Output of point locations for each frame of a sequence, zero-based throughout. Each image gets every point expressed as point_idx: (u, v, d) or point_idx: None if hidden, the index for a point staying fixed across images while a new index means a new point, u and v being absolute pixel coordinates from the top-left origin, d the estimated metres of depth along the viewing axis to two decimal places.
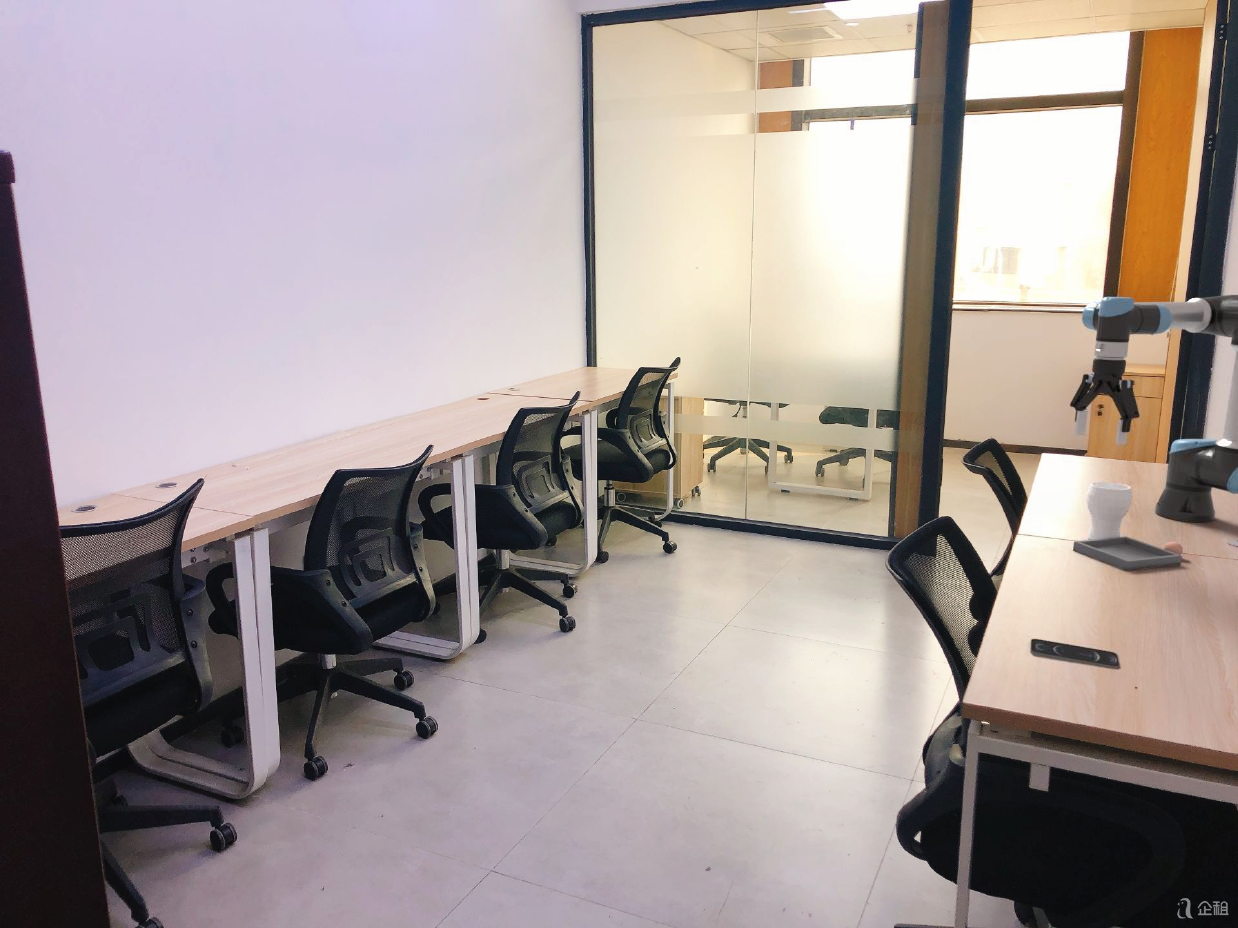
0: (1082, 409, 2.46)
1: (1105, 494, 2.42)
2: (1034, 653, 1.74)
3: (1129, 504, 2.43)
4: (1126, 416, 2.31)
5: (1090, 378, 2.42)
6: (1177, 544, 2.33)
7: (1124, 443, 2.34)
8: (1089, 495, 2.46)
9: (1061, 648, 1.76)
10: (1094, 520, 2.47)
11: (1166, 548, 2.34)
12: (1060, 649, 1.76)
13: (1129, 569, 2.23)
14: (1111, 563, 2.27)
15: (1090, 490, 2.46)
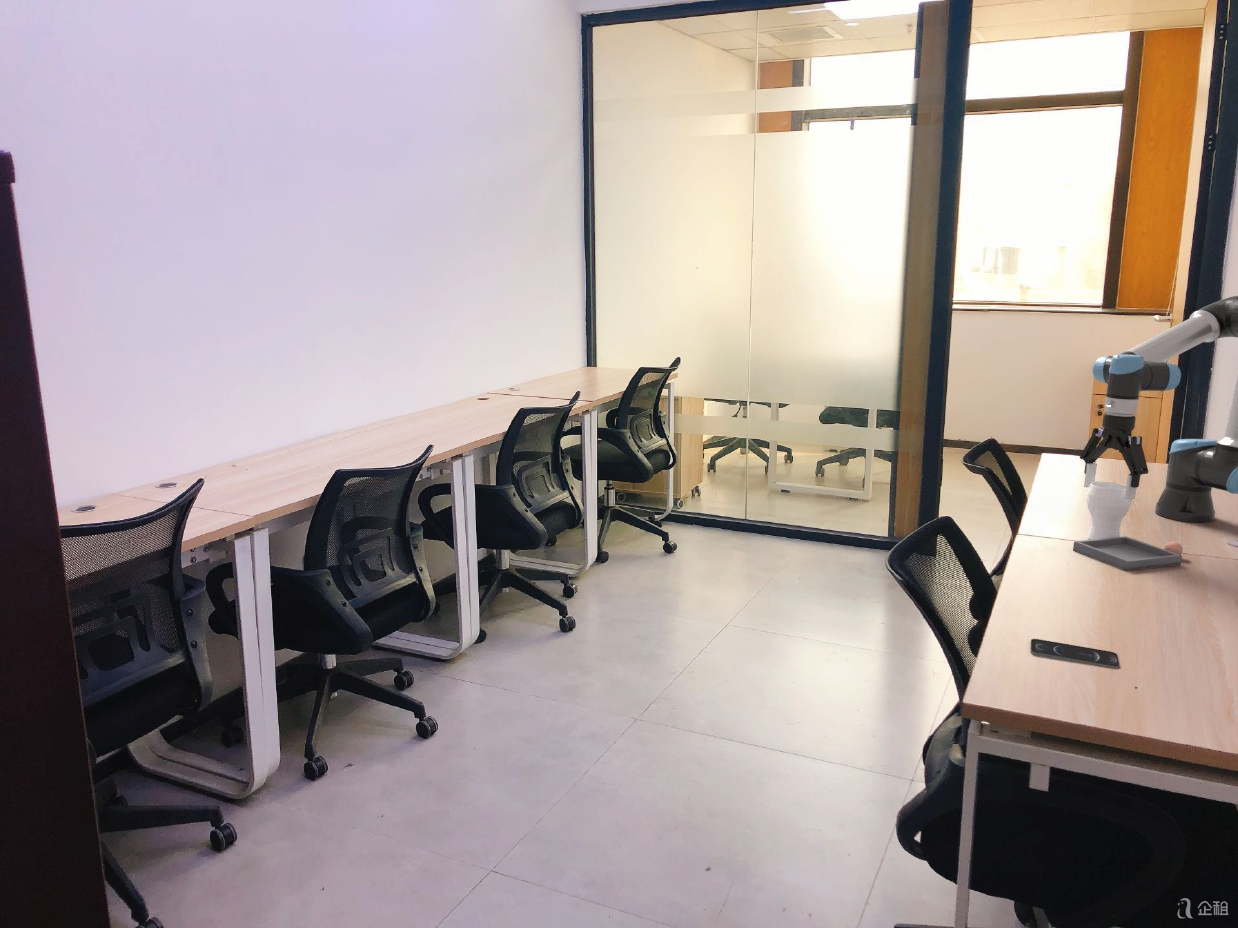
0: (1091, 462, 2.51)
1: (1105, 494, 2.42)
2: (1034, 653, 1.74)
3: (1129, 504, 2.43)
4: (1135, 472, 2.36)
5: (1100, 432, 2.47)
6: (1177, 544, 2.33)
7: (1133, 498, 2.39)
8: (1089, 495, 2.46)
9: (1061, 648, 1.76)
10: (1094, 520, 2.47)
11: (1166, 548, 2.34)
12: (1060, 649, 1.76)
13: (1129, 569, 2.23)
14: (1111, 563, 2.27)
15: (1090, 490, 2.46)
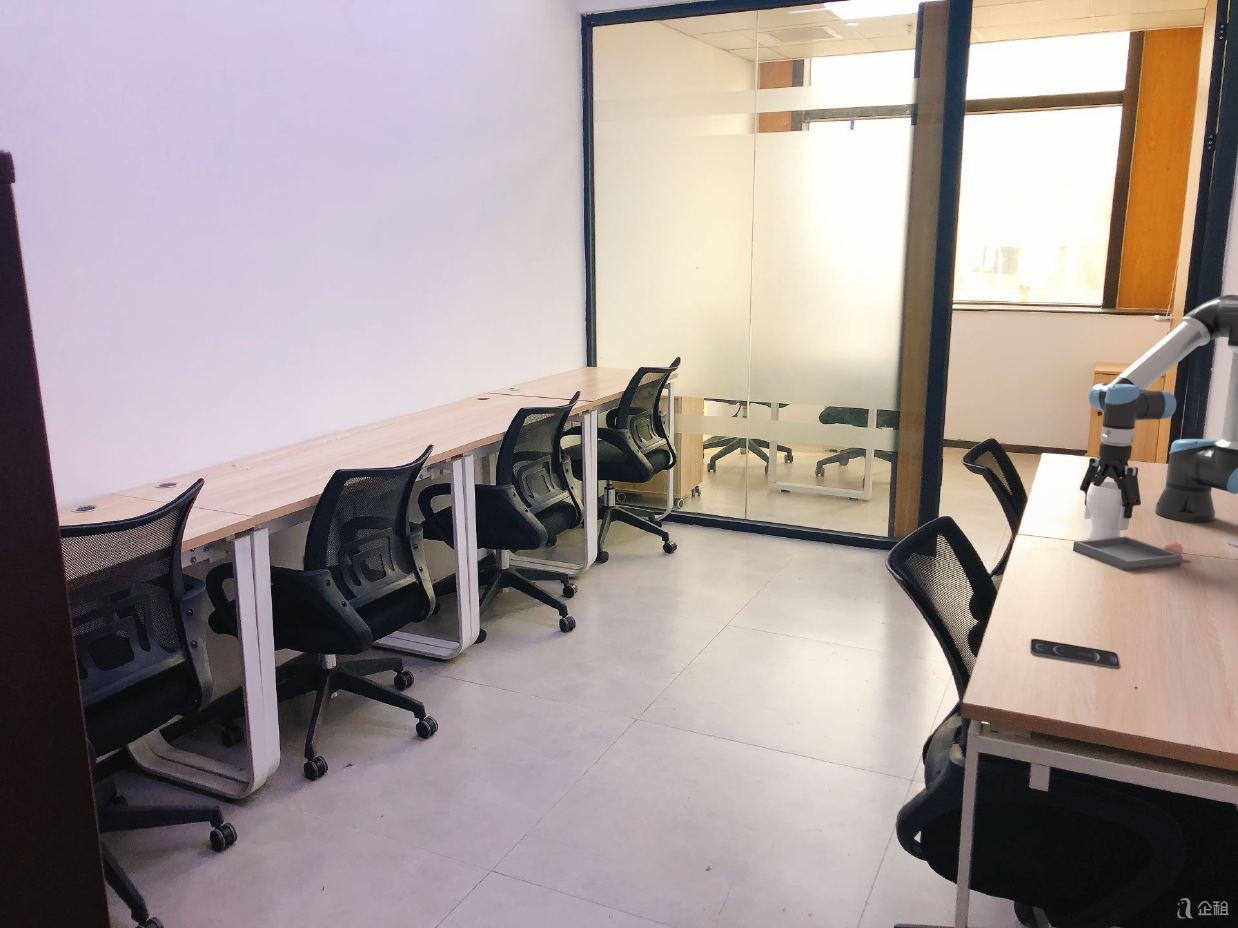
0: None
1: (1105, 494, 2.42)
2: (1034, 653, 1.74)
3: None
4: (1128, 503, 2.39)
5: (1096, 461, 2.49)
6: (1177, 544, 2.33)
7: (1126, 528, 2.42)
8: (1089, 495, 2.46)
9: (1061, 648, 1.76)
10: (1094, 520, 2.47)
11: (1166, 548, 2.34)
12: (1060, 649, 1.76)
13: (1129, 569, 2.23)
14: (1111, 563, 2.27)
15: (1090, 490, 2.46)
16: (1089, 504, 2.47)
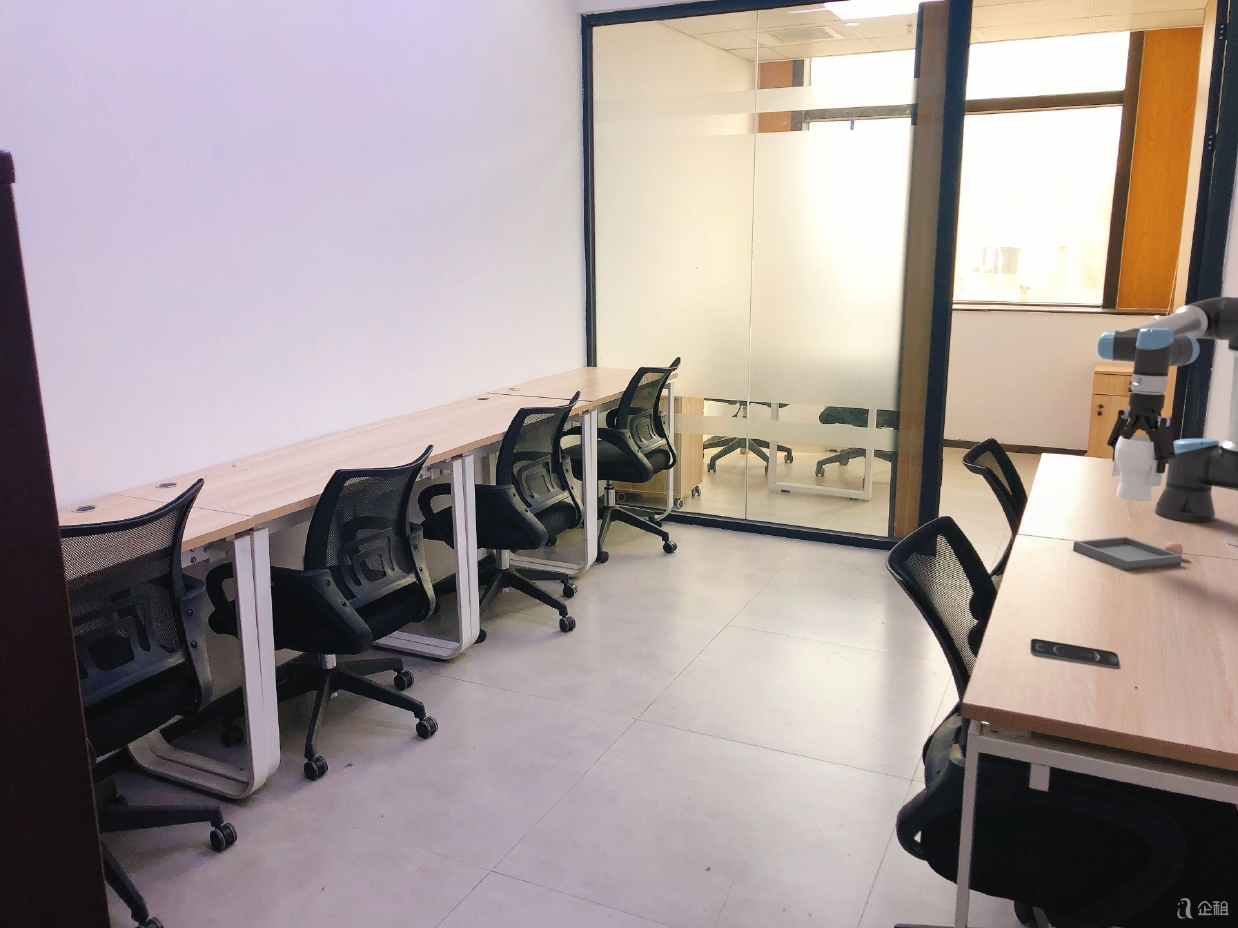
0: None
1: (1136, 447, 2.24)
2: (1034, 653, 1.74)
3: None
4: (1161, 456, 2.21)
5: (1126, 413, 2.31)
6: (1177, 544, 2.33)
7: (1158, 484, 2.24)
8: (1118, 449, 2.28)
9: (1061, 648, 1.76)
10: (1123, 476, 2.29)
11: (1166, 548, 2.34)
12: (1060, 649, 1.76)
13: (1129, 569, 2.23)
14: (1111, 563, 2.27)
15: (1119, 443, 2.28)
16: (1118, 459, 2.28)
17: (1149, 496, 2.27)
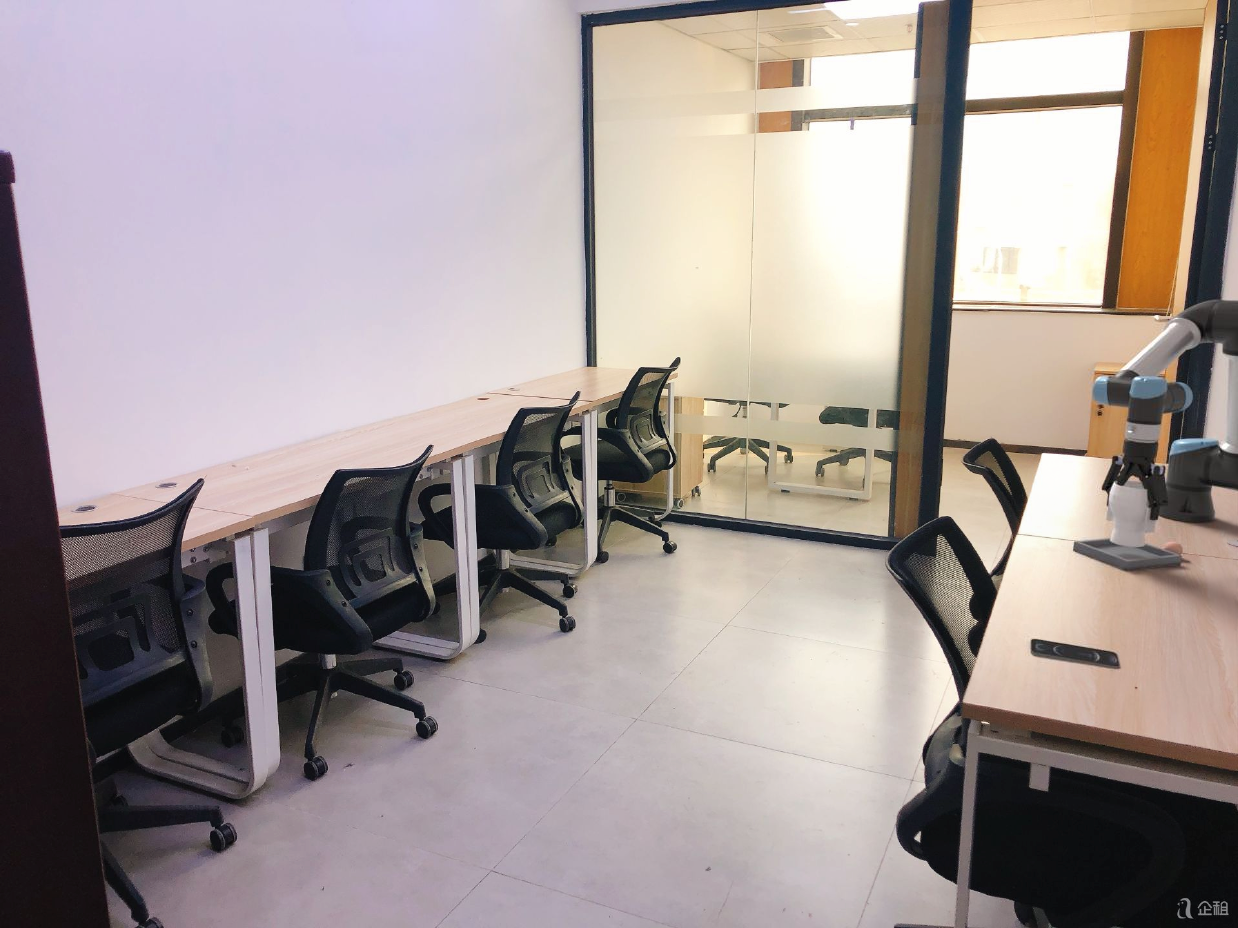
0: None
1: (1129, 494, 2.26)
2: (1034, 653, 1.74)
3: None
4: (1154, 504, 2.23)
5: (1120, 459, 2.33)
6: (1177, 544, 2.33)
7: (1152, 531, 2.26)
8: (1112, 495, 2.30)
9: (1061, 648, 1.76)
10: (1117, 522, 2.31)
11: (1166, 548, 2.34)
12: (1060, 649, 1.76)
13: (1129, 569, 2.23)
14: (1111, 563, 2.27)
15: (1113, 490, 2.30)
16: (1112, 505, 2.31)
17: (1143, 542, 2.30)
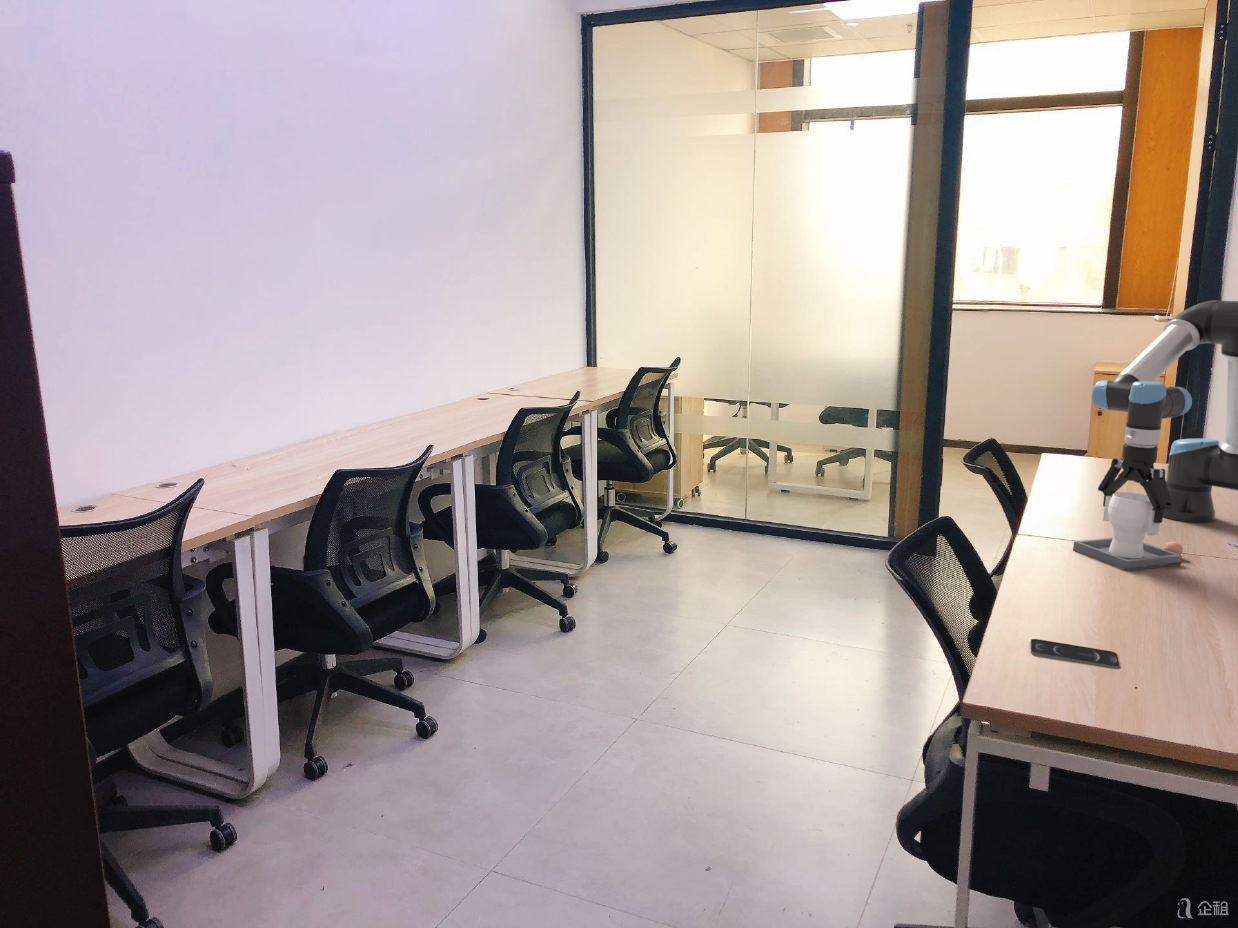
0: (1111, 494, 2.37)
1: (1129, 506, 2.27)
2: (1034, 653, 1.74)
3: None
4: (1158, 507, 2.23)
5: (1119, 463, 2.33)
6: (1177, 544, 2.33)
7: (1156, 534, 2.26)
8: (1111, 506, 2.31)
9: (1061, 648, 1.76)
10: (1116, 533, 2.32)
11: (1166, 548, 2.34)
12: (1060, 649, 1.76)
13: (1129, 569, 2.23)
14: (1111, 563, 2.27)
15: (1112, 501, 2.31)
16: (1111, 516, 2.31)
17: (1141, 553, 2.30)
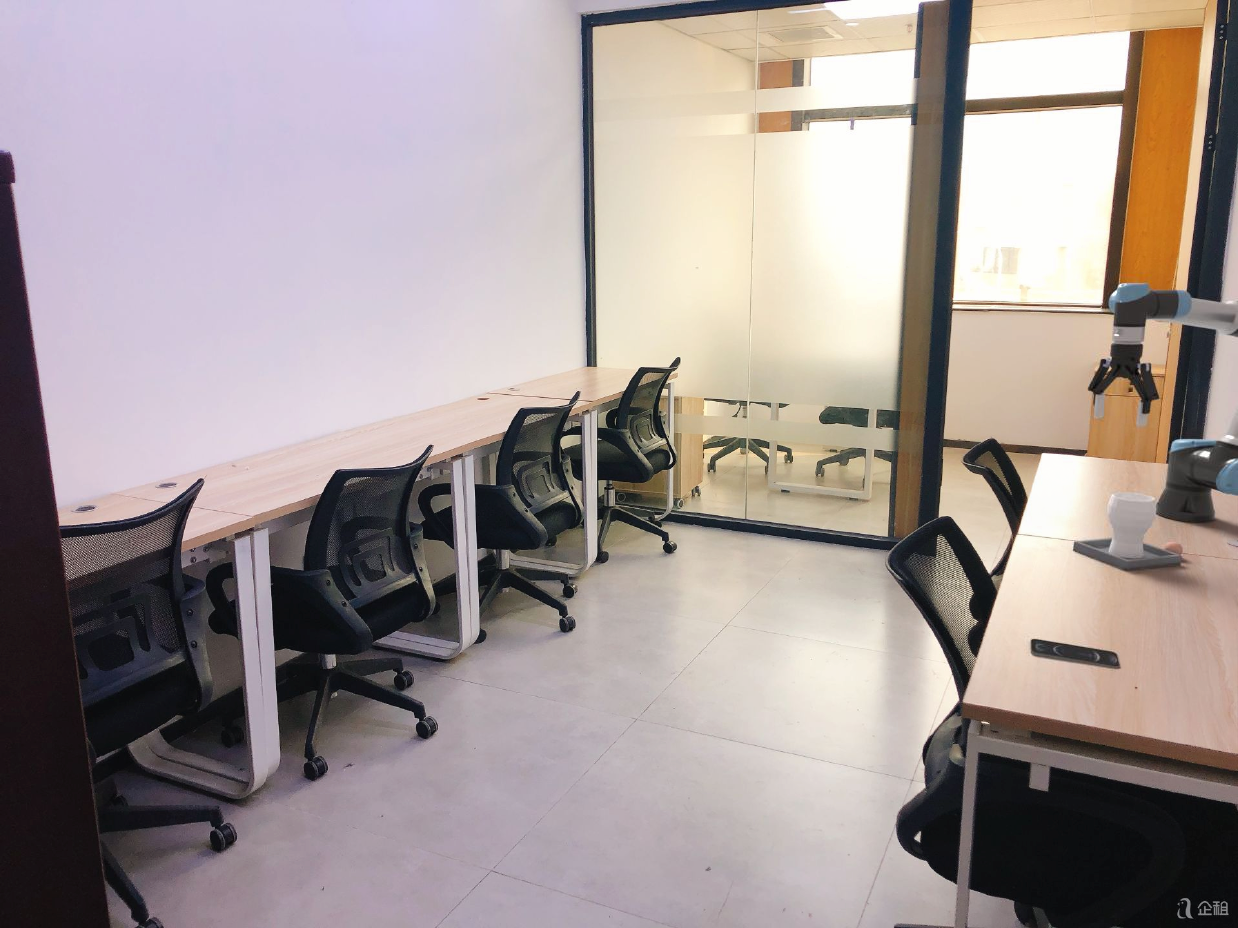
0: (1100, 393, 2.54)
1: (1128, 506, 2.27)
2: (1034, 653, 1.74)
3: (1153, 516, 2.27)
4: (1146, 398, 2.39)
5: (1107, 362, 2.50)
6: (1177, 544, 2.33)
7: (1144, 424, 2.42)
8: (1110, 507, 2.31)
9: (1061, 648, 1.76)
10: (1115, 534, 2.32)
11: (1166, 548, 2.34)
12: (1060, 649, 1.76)
13: (1129, 569, 2.23)
14: (1111, 563, 2.27)
15: (1111, 501, 2.31)
16: (1110, 516, 2.31)
17: (1141, 553, 2.30)
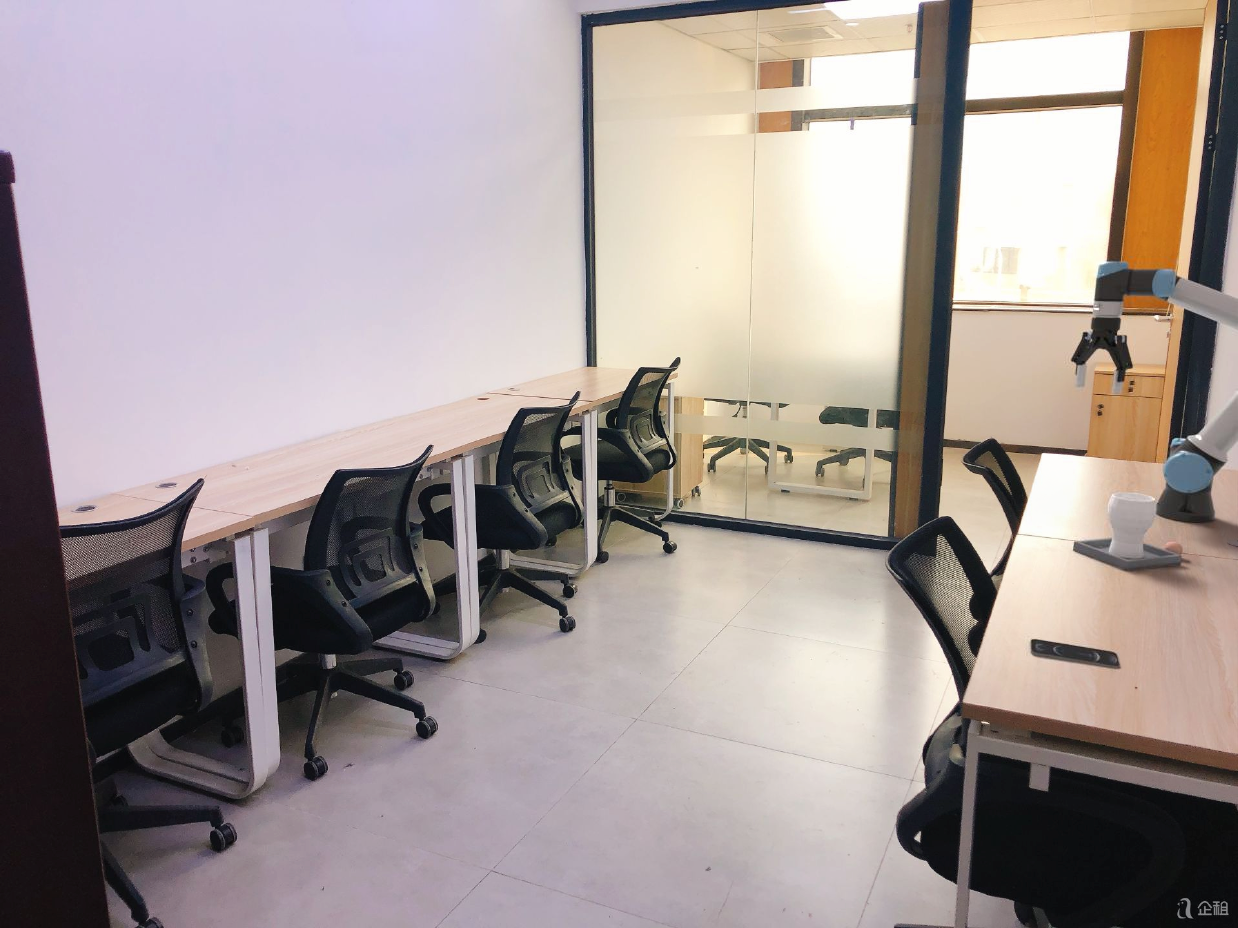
0: (1082, 364, 2.75)
1: (1128, 506, 2.27)
2: (1035, 653, 1.74)
3: (1153, 517, 2.27)
4: (1121, 367, 2.60)
5: (1089, 335, 2.71)
6: (1177, 544, 2.33)
7: (1119, 392, 2.63)
8: (1110, 507, 2.31)
9: (1061, 648, 1.76)
10: (1116, 534, 2.32)
11: (1166, 548, 2.34)
12: (1060, 649, 1.76)
13: (1129, 569, 2.23)
14: (1111, 563, 2.27)
15: (1111, 501, 2.31)
16: (1110, 516, 2.31)
17: (1141, 553, 2.30)
